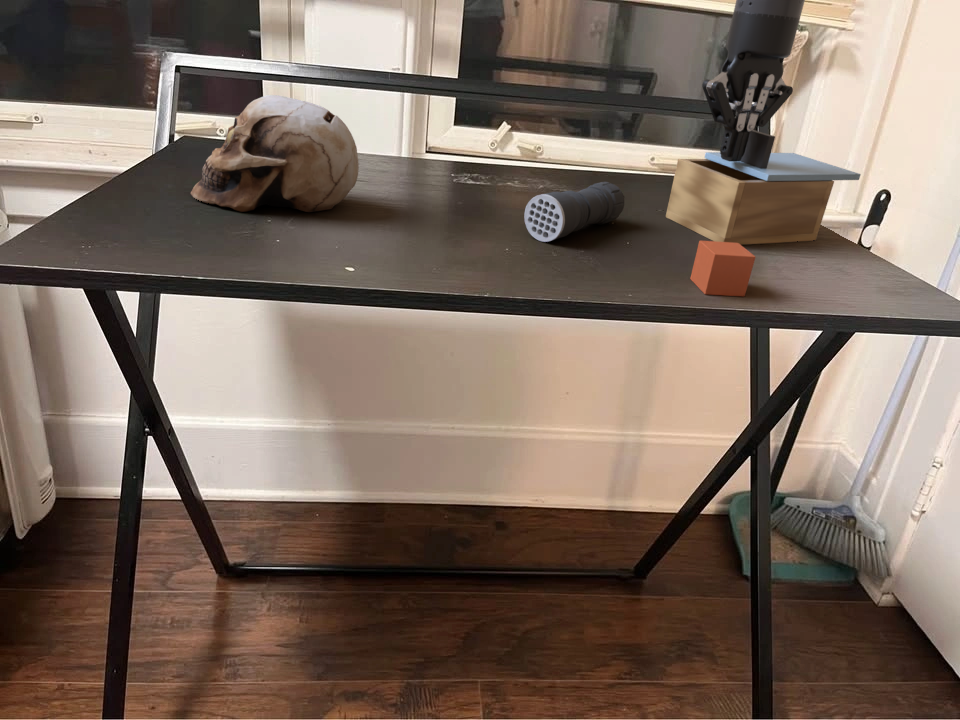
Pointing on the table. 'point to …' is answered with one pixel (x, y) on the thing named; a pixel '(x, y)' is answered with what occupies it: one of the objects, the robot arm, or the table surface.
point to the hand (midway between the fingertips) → (730, 160)
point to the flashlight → (572, 210)
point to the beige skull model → (281, 159)
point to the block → (722, 268)
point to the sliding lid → (780, 163)
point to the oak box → (745, 204)
